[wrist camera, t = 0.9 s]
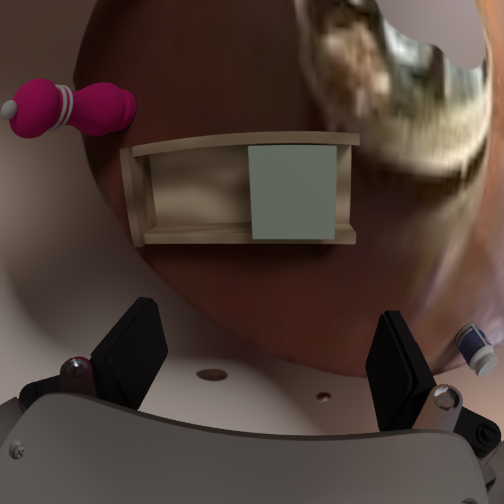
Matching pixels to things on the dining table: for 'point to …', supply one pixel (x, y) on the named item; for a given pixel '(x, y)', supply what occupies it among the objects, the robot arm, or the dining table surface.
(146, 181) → the bay
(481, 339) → the pill bottle
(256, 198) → the grey-green block
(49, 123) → the pepper mill
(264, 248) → the dining table surface
